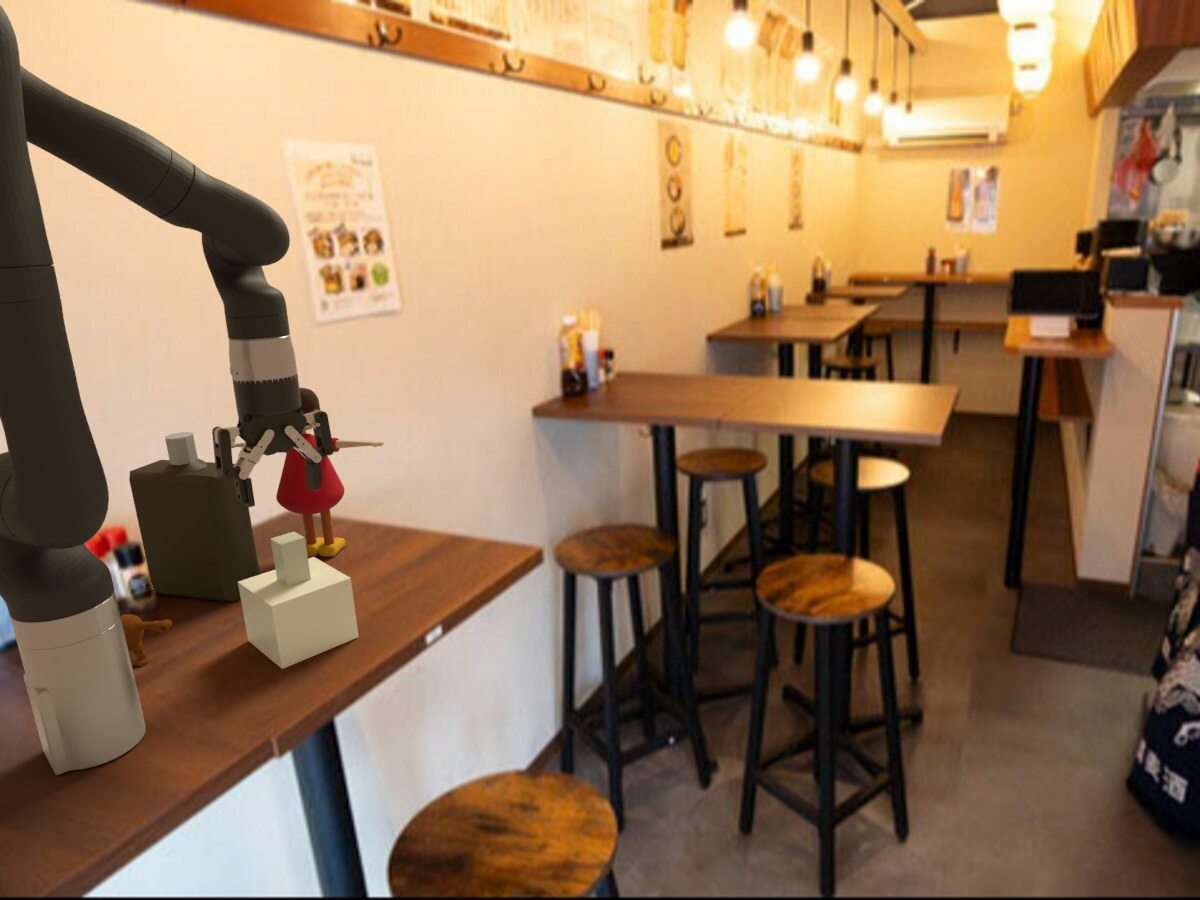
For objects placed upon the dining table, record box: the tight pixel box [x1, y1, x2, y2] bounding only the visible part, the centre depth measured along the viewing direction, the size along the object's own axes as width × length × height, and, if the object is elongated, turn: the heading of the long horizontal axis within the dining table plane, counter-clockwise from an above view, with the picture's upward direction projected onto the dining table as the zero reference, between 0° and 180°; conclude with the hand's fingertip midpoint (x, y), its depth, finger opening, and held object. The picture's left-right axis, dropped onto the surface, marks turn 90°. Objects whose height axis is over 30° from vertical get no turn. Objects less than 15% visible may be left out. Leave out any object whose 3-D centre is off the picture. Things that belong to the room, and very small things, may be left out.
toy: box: [231, 387, 385, 558], centre depth 133 cm, size 27×11×30 cm, turn 84°
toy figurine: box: [120, 613, 173, 667], centre depth 103 cm, size 12×4×7 cm, turn 85°
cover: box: [238, 531, 359, 670], centre depth 107 cm, size 11×11×15 cm
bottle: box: [128, 431, 261, 603], centre depth 122 cm, size 8×16×25 cm, turn 74°
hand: (282, 497), depth 103 cm, fingers open, 8 cm apart
